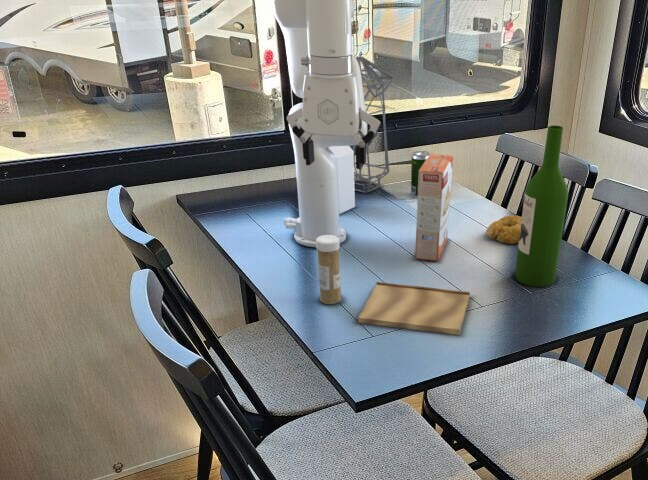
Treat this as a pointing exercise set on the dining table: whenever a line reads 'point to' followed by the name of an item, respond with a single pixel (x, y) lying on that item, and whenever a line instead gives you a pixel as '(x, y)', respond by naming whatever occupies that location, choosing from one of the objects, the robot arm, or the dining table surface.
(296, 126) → the robot arm
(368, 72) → the geometric lantern
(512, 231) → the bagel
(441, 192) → the cracker box
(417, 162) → the beer can
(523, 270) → the wine bottle
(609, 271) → the dining table surface
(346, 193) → the milk carton
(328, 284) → the sprinkles bottle
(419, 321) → the board
